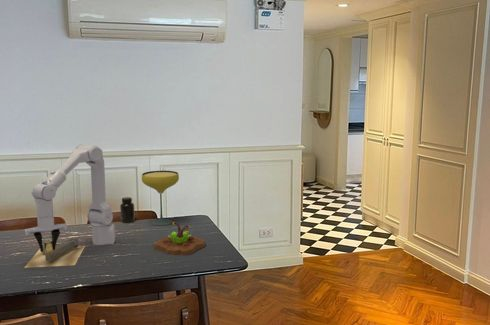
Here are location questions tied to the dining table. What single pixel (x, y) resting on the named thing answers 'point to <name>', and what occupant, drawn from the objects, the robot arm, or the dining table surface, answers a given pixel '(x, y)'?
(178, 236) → the plant
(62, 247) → the press lever
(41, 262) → the board
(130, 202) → the supplement bottle
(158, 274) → the dining table surface
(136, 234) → the dining table surface
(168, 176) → the cocktail glass
